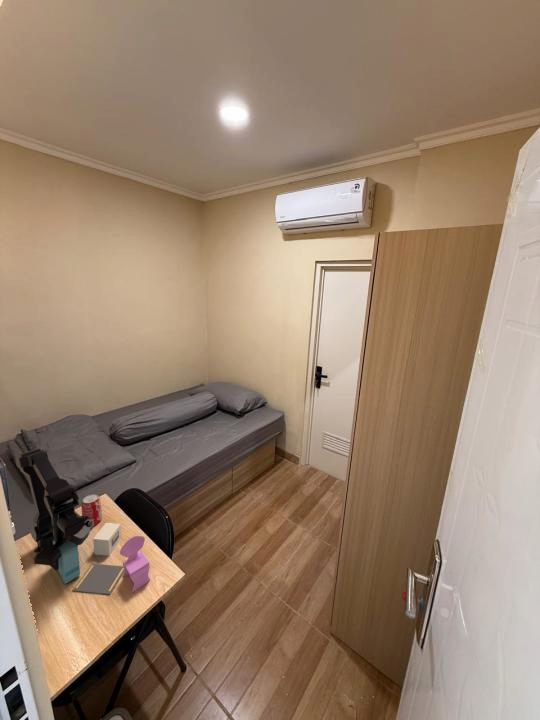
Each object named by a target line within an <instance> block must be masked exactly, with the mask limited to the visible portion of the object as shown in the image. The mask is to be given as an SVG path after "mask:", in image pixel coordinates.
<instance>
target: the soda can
mask: <svg viewBox="0 0 540 720" xmlns="http://www.w3.org/2000/svg"><path fill="white" fill-rule="evenodd" d="M101 503H102V502H101V498H100V497H99V495H98V494H97V493H92V494H89V495H86V496H85V497H84V498H83V499H82V502H81V507H80V508H81V516H88V517H89V518H90V520H91V521H92V527H95V526H97V525H98V524H99V523H100V522H101V521H102V519H103V518H102V514H103V513H102V504H101Z"/></svg>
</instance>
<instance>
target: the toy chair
mask: <svg viewBox="0 0 540 720" xmlns="http://www.w3.org/2000/svg"><path fill="white" fill-rule="evenodd" d="M145 541H146V539H145V537H144V536H143V535H134V536H131V537H129V538H128V539H127V540H126V541H125V542H124V544H123V545H122V546H121V547H120V550H119V555H121V556H122V557H124V558H127V559H125V560H123V561H122V566H124V567H125V571H124V573H123V575H122V577H125V576H127V575H129V577H130V579H131V580H132V583H133V588H132V589H131V593H134V592H136V591H137V590H138V589H140V588H141V587H142V586H144V585H145V584H147V583H148V582H150V581H151V578H150V576H149V571H150V561H149V559H148V558H147V557H146V556H145V554H144V553H143V551H142V550H141V549H142V548H143V546H144V544H145Z"/></svg>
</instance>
